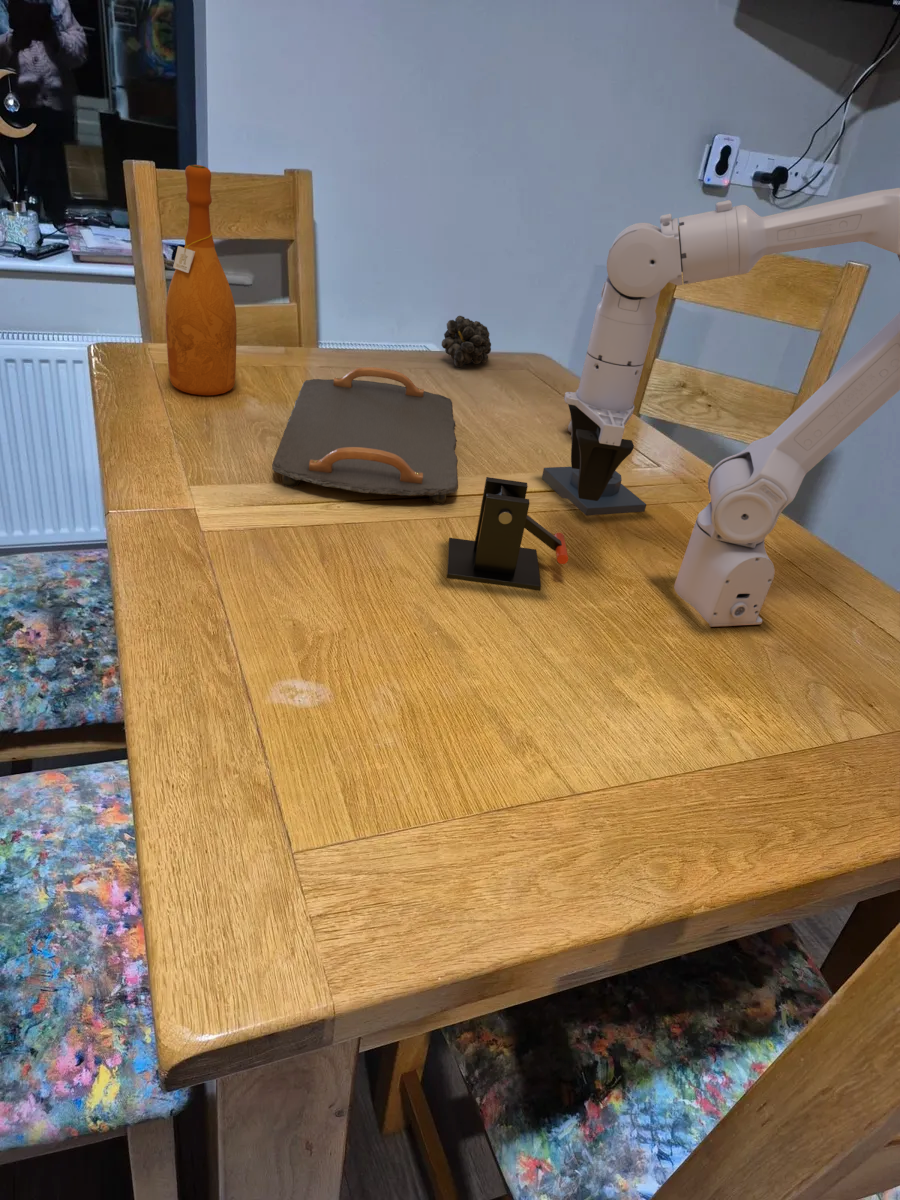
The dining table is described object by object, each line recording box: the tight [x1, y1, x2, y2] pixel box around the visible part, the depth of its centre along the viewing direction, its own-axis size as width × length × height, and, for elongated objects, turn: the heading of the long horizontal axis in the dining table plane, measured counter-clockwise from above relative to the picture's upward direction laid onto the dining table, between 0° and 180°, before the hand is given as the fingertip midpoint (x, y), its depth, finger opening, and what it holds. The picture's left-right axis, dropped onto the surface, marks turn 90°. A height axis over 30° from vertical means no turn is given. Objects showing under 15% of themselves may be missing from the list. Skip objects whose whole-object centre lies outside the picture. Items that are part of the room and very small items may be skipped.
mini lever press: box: [446, 476, 542, 591], centre depth 88 cm, size 10×8×10 cm
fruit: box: [441, 315, 492, 368], centre depth 153 cm, size 9×8×15 cm
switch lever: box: [494, 486, 569, 565], centre depth 88 cm, size 10×5×2 cm
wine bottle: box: [165, 164, 237, 396], centre depth 117 cm, size 10×10×30 cm
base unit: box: [541, 466, 647, 516], centre depth 110 cm, size 12×9×4 cm
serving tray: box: [271, 366, 459, 505], centre depth 113 cm, size 39×23×6 cm, turn 1°
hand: (584, 482), depth 89 cm, fingers open, 7 cm apart
